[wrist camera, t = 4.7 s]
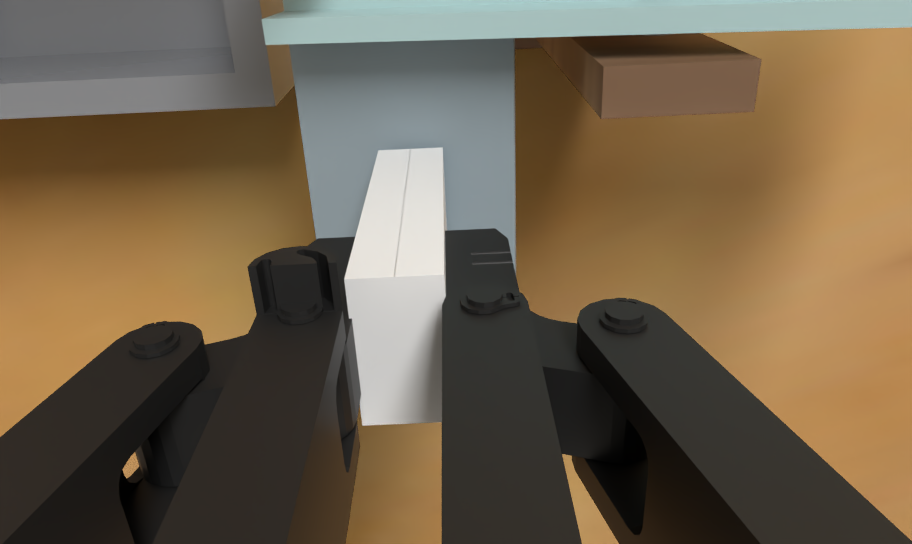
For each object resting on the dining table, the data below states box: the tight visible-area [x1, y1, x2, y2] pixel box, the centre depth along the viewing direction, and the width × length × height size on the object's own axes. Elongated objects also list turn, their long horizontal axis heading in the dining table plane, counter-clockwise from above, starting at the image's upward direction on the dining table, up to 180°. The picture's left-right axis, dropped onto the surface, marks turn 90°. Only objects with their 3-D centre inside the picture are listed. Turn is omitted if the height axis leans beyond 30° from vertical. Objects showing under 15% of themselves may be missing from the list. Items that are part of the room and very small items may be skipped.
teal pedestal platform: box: [262, 0, 912, 274], centre depth 15 cm, size 15×20×2 cm
